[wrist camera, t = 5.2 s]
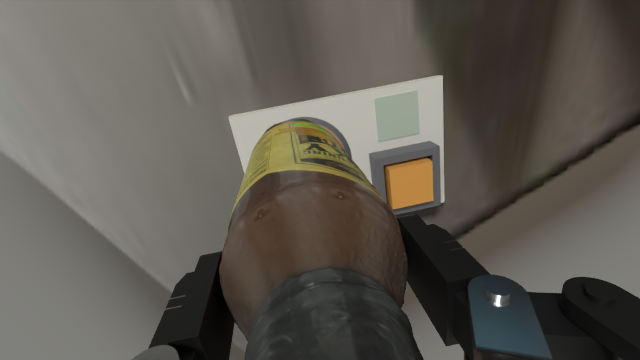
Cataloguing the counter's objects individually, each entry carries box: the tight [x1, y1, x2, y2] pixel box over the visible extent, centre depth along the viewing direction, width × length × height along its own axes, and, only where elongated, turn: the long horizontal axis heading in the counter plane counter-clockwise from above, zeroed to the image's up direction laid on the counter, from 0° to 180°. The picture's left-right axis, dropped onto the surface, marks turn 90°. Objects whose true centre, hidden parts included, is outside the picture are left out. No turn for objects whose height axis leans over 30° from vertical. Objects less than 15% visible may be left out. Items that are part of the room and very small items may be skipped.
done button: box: [384, 157, 434, 209], centre depth 36 cm, size 5×5×2 cm
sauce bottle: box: [219, 119, 423, 360], centre depth 13 cm, size 6×6×20 cm
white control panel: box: [228, 75, 444, 215], centre depth 36 cm, size 24×16×4 cm, turn 100°
